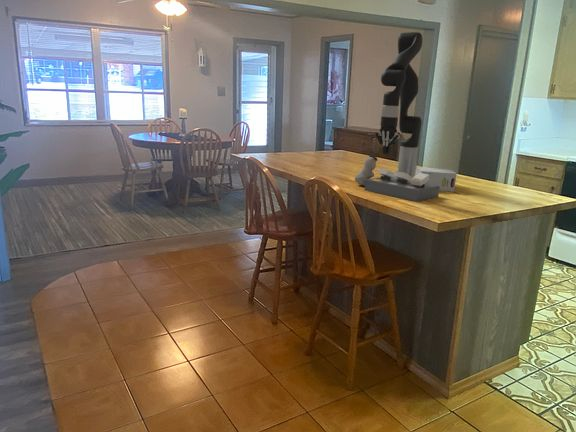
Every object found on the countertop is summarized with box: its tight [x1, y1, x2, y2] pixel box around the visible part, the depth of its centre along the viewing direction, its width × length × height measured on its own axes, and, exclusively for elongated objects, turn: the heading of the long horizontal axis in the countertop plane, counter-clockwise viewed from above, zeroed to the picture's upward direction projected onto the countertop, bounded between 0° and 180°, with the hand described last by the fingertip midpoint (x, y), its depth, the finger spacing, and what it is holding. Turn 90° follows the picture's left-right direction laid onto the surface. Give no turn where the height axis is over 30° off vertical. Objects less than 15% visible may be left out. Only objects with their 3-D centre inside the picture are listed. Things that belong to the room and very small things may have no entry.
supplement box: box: [415, 166, 457, 192], centre depth 226 cm, size 17×13×9 cm
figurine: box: [354, 154, 378, 187], centre depth 224 cm, size 9×10×15 cm
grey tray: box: [364, 175, 440, 203], centre depth 211 cm, size 18×28×6 cm, turn 43°
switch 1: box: [377, 167, 395, 178], centre depth 216 cm, size 7×5×2 cm
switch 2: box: [393, 170, 412, 181], centre depth 209 cm, size 7×5×2 cm
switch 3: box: [410, 173, 429, 186], centre depth 203 cm, size 7×5×2 cm
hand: (385, 154), depth 212 cm, fingers closed
